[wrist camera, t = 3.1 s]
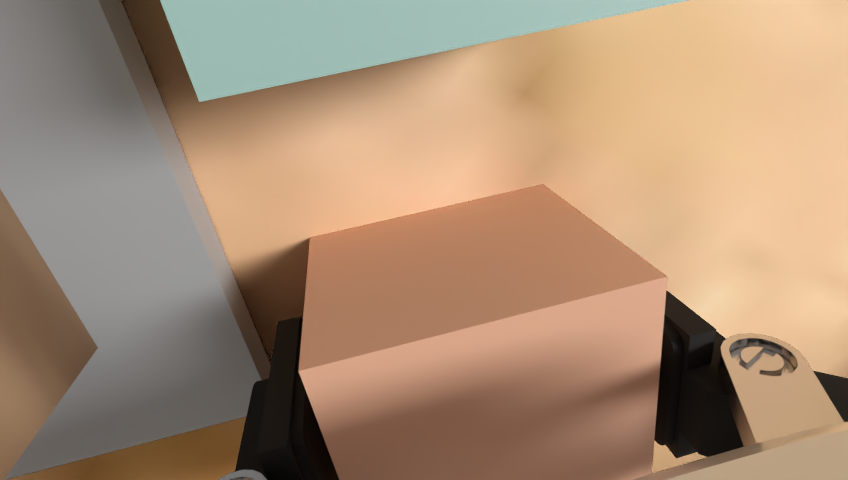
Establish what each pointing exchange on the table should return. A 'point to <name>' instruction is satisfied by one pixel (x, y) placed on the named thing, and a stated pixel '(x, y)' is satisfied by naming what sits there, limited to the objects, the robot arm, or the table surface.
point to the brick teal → (349, 34)
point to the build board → (117, 235)
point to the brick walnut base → (32, 340)
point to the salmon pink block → (483, 345)
